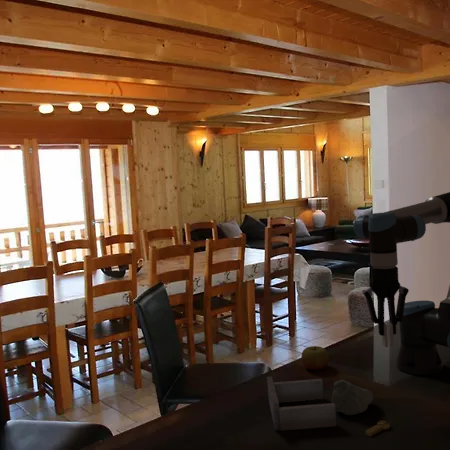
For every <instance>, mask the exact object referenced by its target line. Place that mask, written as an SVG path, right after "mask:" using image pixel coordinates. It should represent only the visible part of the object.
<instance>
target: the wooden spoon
mask: <svg viewBox="0 0 450 450" xmlns="http://www.w3.org/2000/svg"><path fill="white" fill-rule="evenodd" d="M388 430H390V422H389V421H387V420H378V421H377V423H376V425H373V426H371V427H370V428H368V429H366V430H365V435H367V436H368V437H372V436H374V435H376V434H378V433H380V432H382V431H388Z"/></svg>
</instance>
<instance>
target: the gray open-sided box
mask: <svg viewBox="0 0 450 450" xmlns="http://www.w3.org/2000/svg"><path fill="white" fill-rule="evenodd" d="M266 380H267V395H268V403H269V408H270V413H271V416H272V417H271V418H272V421H273V426H274V431H275V432H278V431H280V432H281V431H292V430H304V429H306V430H307V429H317V428H330V427H337V415H336V408H335V404H334V403H332V402H331V403H317V404H306V405H294V406H293V405H292V406H281V407H280V404H281V403H282V404H283V403H292V402H303V401H304V402H305V401H306V400H307V401H316V400H315V399H319V400H324V399H325V398H324V383H323V379H322V378H315V379H314V378H313V379H303V380H290V381H287V380H286V381H277V382H274V380H273V376H267V377H266ZM307 401H306V402H307Z"/></svg>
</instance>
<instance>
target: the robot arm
mask: <svg viewBox="0 0 450 450" xmlns="http://www.w3.org/2000/svg"><path fill="white" fill-rule="evenodd" d="M443 223H449V224H450V191H448V192H445V193H442V194H438V195H435V196H431V197H428V198H427V199H426V200H425V201H424V202H423V201H422V202H418V203H415V204H412V205H411V204H410V205H407V206H403V207H399V208H396V209H392V210H388V211H384V212H375V213H371V214H370V215H369V214H364V215H359V216H358V217H356V218H355V220H354V222H353V232H354V234H355V235H356V236H357V237H358V238H360V239H365V240H369V242H368V243H369V254H370V256H369V257H370V259H369V260H370V265H371V266H372V267H370V279H371V282H370V285H369V287H368V288H367V289H363V290H362V291H361V292H362V294H363V296H364V298H365V300H366V304H367V307H368V312H369V315H370V319H371V321H372V322H373V323H374V324H377V327H378V335H379V336H381V339H382V342H381V343H382V346H384V347H385V348H388V347H389V346H390V347H391V348H392V347H394V345H395V344H394V343H395V342H394V335H397V325H398V323H399V334H400V346H399V350H398V353H397V357H396V360H395V361H396V368H397V369H398V371H401V372H403V373H405V374H409V375H415V376H431V375H437V374H439V373H441V372H442V371H443V369H444V365H443V362H444V361H443V359H442V357H441V354H440V352H439V349H438V347H437V345H439V346H443V347H447V348H450V285H449V286H448V291H447V295H446V298H445V299H443V300H441V301H440V302H439V305H438V308H437V307H436V304H435V301H432V300H413V301H412V300H411V301H408V302H406V298H407V295H408V293H409V291H410V290H409V289H408V287H405V286H402V285H401V283H400V282H399V267H398V264H399V263H398V247H397V245H398V244H401V243H406V242H415V241H417V240H419V239H422V238H423V237H424V236H425V234H426V231H427V227H426V226H427V225H428V224H434V225H438V224H443ZM397 292H398V297H397V304H395V300H396V299H395V296H396V294H397ZM373 294H374V295H375V296H376V299H377V311H376V308H375V304H374V301H373V297H372V296H373ZM386 299H387V307H388V308H387V309H388V320H389V321H388V322H386V323H385V302H386Z"/></svg>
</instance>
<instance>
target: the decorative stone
mask: <svg viewBox="0 0 450 450" xmlns="http://www.w3.org/2000/svg"><path fill="white" fill-rule="evenodd" d="M332 390H333V392H332V394H331V397H332V398H331V403H334V404H335V411H337V412H338V413H342V414H344V415H345V416H356V415H358V414H361V413H364V412H366V410H367V409H368V408H369V405H370V404H372V402H373V400H374V394H373V392H372V391H371V390H369V389H367V388H363V387H360V386H357V385H354V384H353V383H351V382H349V381H347V380H345V379H340V380H336V381H335V382H334V383H333V389H332Z"/></svg>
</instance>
